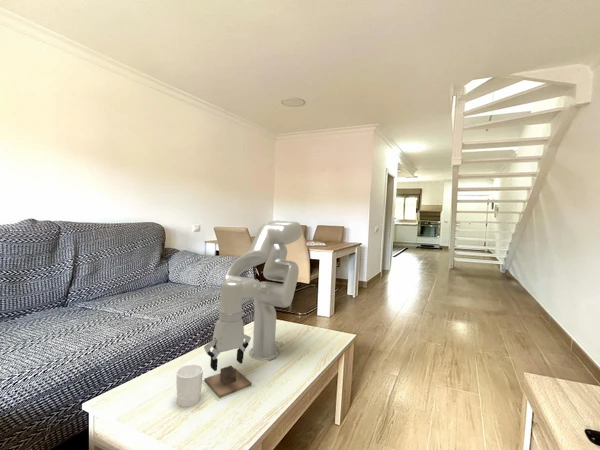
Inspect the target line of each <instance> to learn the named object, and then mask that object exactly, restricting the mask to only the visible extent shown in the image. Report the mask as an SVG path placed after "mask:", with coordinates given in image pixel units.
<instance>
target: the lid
mask: <svg viewBox="0 0 600 450" xmlns="http://www.w3.org/2000/svg"><path fill="white" fill-rule="evenodd" d="M236 369H237V368H235V367H233V366H232V365H228V366H225V367H221V368H220V373H217V374H214V375H211V376H208V377H205V378H204V379H203V380H204V381H205V383H206V384H207V385H208V386H209V387H210V388H211V389H212V391H213V392H214V393H215V394H216V395H217V396H218V397H219V398H222V397H224V396H227V395H229V394H232V393H234V392H237V391H239V390H242V389H244V388H247V387H249V386H252V383H253V382H252V381H251V380H249V379H248V378H247V377H246V376H245V375H243V374H242V373H241V372H240V371H239V370H238V369H237V370H236ZM244 376H245V377H244Z"/></svg>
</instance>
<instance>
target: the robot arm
mask: <svg viewBox="0 0 600 450" xmlns="http://www.w3.org/2000/svg"><path fill="white" fill-rule="evenodd" d="M302 228H303V227H302V225H301V224H300V223H299V222H297V221H289V220H288V221H287V220H272V221H268V223H264V224H262V225H260V226H259V228H258V229H257V232H256V234H255V236H254V238H253V240H252V243H251V245H250V247H249V249H248V251H247V252H246V253H244V254H242V255H241V256H239V257H238V258H237V259H236V260H235V261H233V262H232V263H231V265H229V267H228V269H227V272H226V273H225V276H224V278H223V279H222V280H223V281H222V283H221V287H220V288H221V289H220V302H219V303H220V304H219V316H218V317H219V318H218V320H216V322H215V326H214V329H213V335H212V340H210V341H209V342H208V343H207V344H205V345H204V346H203V349H204V352H205V353H206V354H207V356H209V357H210V369H212V371H214V372H216V371H218V360H219V359H218V358H217V357H218V356H219V355H220V354H221V353H224V352H230V351H232V350H236V349H237V350H236V362H238V363H239V364H243V363H244V362H243V361H244V357H245V355H244V354H245V352H246V349H247V347H248V346H249V345H250V342H251V339H252V348H250V349H249V350H248V355H249V357H250V358H252V359H253V360H257V361H272V360H274V359H276V358H277V357H278V355H279V351H278V348H279V347H283V346H284V341H279V342H278V340H276V333H277V332H276V329H277V311H276V309H275V307H276V308H288V307H290V306H291V304H292V302H293V299H294V295H295V291H296V287H297V283H298V279H299V272H300V270H299V265H298V264H297V262H295V261H293V260H287V256H288V249H287V246H286V245H290V244H292V243H295V242H297V241H298V240H299V239H300V238H301V236H302V234H303V229H302ZM264 263H265V264H264ZM261 264H264V268H263V271H262V273H263V274H262V275H263V278H265V279H266V280H270V281H258V280H257V279H255V278H251V277H245V276H241V275H242V273H243V272H245V271H246V270H247V269H248V270H249V269H250V268H252V267H256V266H260V265H261ZM271 281H275V282H271ZM277 282H283V283H277ZM251 299H253V307H254V308H253V309H254V311H253V312H254V313H253V315H254V316H253V338H252V337H251V336H250V335H247V334H245V331H244V330H245V329H244V328H245V327H244V321H243V319H242V318H243V316H244V315H245V311H243V300H251ZM211 348H213V349H212V351H211Z"/></svg>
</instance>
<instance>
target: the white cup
mask: <svg viewBox="0 0 600 450" xmlns="http://www.w3.org/2000/svg"><path fill="white" fill-rule="evenodd" d="M203 375H204V367H203V366H202V365H200V364H186V365H183V366H181V367H179V368H178V369H177V371H176V376H175V377H176V403H177V405H178V406H179V407H183V408H184V407H186V408H188V407H193V406H195V405H197V404H198V402H199V401H200V400H201V392H202V385H203V383H202V380H203Z"/></svg>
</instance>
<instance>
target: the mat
mask: <svg viewBox="0 0 600 450" xmlns="http://www.w3.org/2000/svg"><path fill="white" fill-rule="evenodd" d="M235 369H236V370H238V369H237V368H235ZM243 376H244V377H246V376H245V375H243ZM251 383H252V386H249V387H247V388H244V389H242V390H239V391H237V392H234V393H232V394H229V395H227V396H224V397H222V398H219V397H218V396H217V395H216V394H215V393H214V392H213V391H212V389H211V388H210V387H209V386H208V385H207V384H206V383H205V381H204V379H202V385H203V386H204V387H205V388H206V390H207V391H208V392H210V394H211V395H212V396H213V397H214V399H215V400H216V402H219V401H222V400H224V399H227V398H229V397H232V396H235V395H237V394H239V393H242V392H244V391H247V390H249V389H252V388H254V387H255V388H256V385H255V384H254V383H253V382H251Z"/></svg>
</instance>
